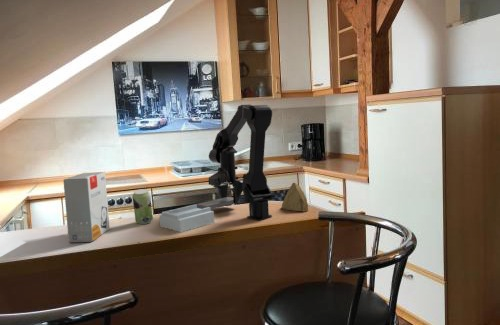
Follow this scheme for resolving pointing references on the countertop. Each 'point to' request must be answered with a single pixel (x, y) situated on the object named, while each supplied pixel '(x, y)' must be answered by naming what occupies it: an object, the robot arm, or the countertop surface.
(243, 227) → the countertop surface
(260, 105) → the robot arm
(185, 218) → the lidded box
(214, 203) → the cover plate
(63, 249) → the countertop surface
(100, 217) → the hard drive box
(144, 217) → the beverage can
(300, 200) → the rock
